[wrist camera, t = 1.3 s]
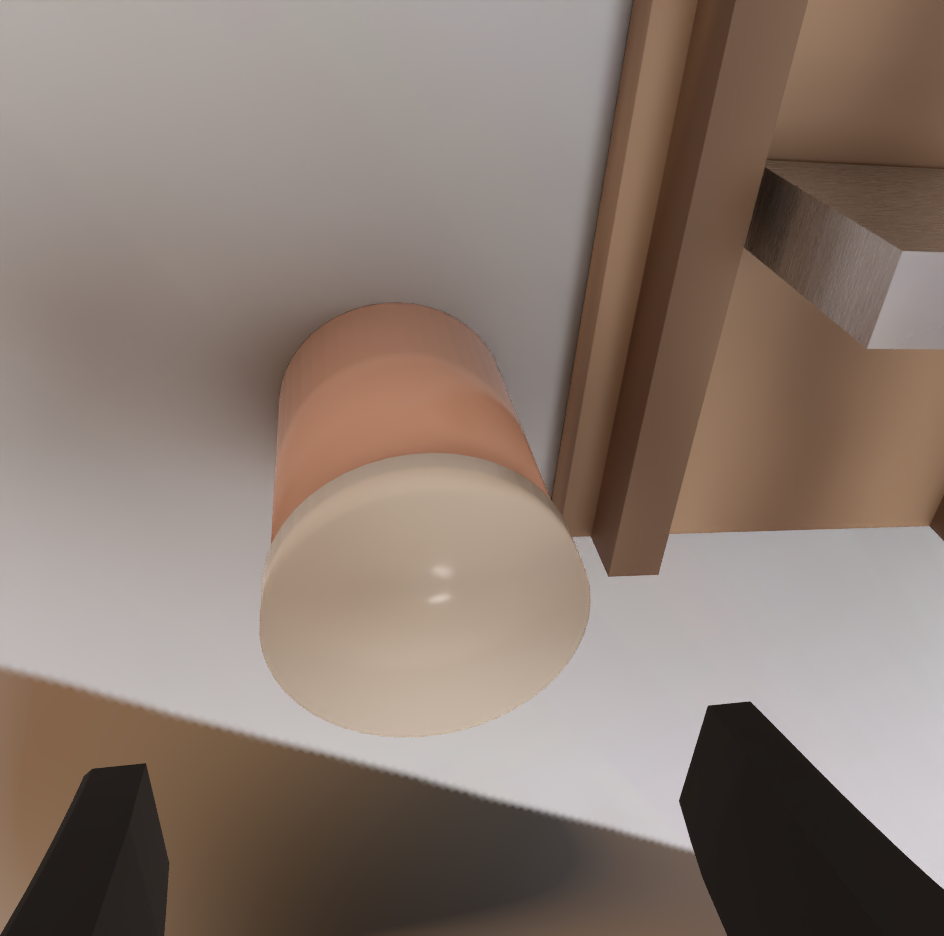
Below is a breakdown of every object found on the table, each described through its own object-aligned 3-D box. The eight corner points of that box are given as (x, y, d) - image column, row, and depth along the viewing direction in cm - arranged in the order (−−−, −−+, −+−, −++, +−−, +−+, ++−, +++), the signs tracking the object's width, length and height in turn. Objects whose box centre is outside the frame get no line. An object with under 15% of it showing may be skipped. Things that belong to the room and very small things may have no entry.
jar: (519, 300, 18) (616, 487, 13) (496, 499, 21) (565, 726, 15) (269, 295, 17) (250, 494, 12) (278, 504, 20) (267, 748, 15)
